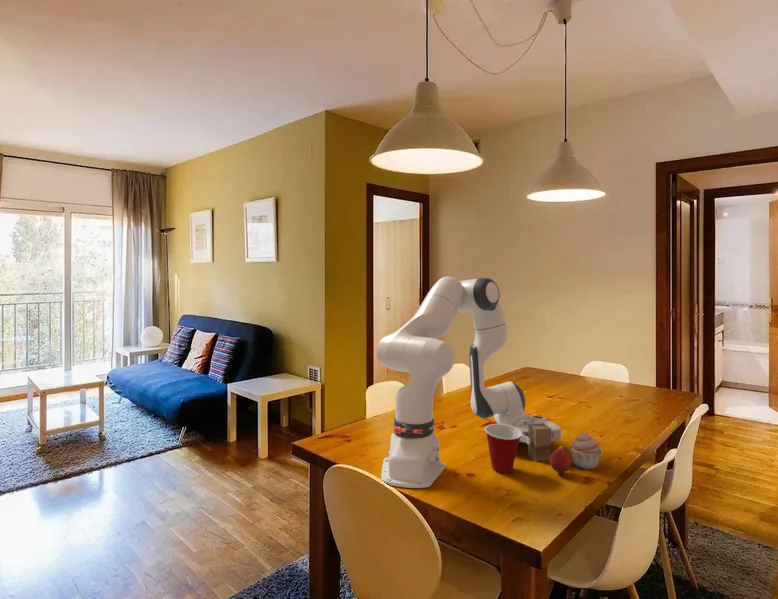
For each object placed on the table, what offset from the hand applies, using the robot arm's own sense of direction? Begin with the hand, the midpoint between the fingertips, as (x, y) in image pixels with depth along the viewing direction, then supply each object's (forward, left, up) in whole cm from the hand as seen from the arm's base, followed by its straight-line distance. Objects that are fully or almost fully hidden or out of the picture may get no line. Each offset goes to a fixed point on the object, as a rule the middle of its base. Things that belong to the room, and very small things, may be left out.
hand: (540, 441), depth 145 cm
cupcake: (-2, -13, -6) cm, 14 cm away
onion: (-10, -5, -6) cm, 13 cm away
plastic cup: (-11, +11, -6) cm, 17 cm away
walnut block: (+1, 0, -6) cm, 6 cm away
